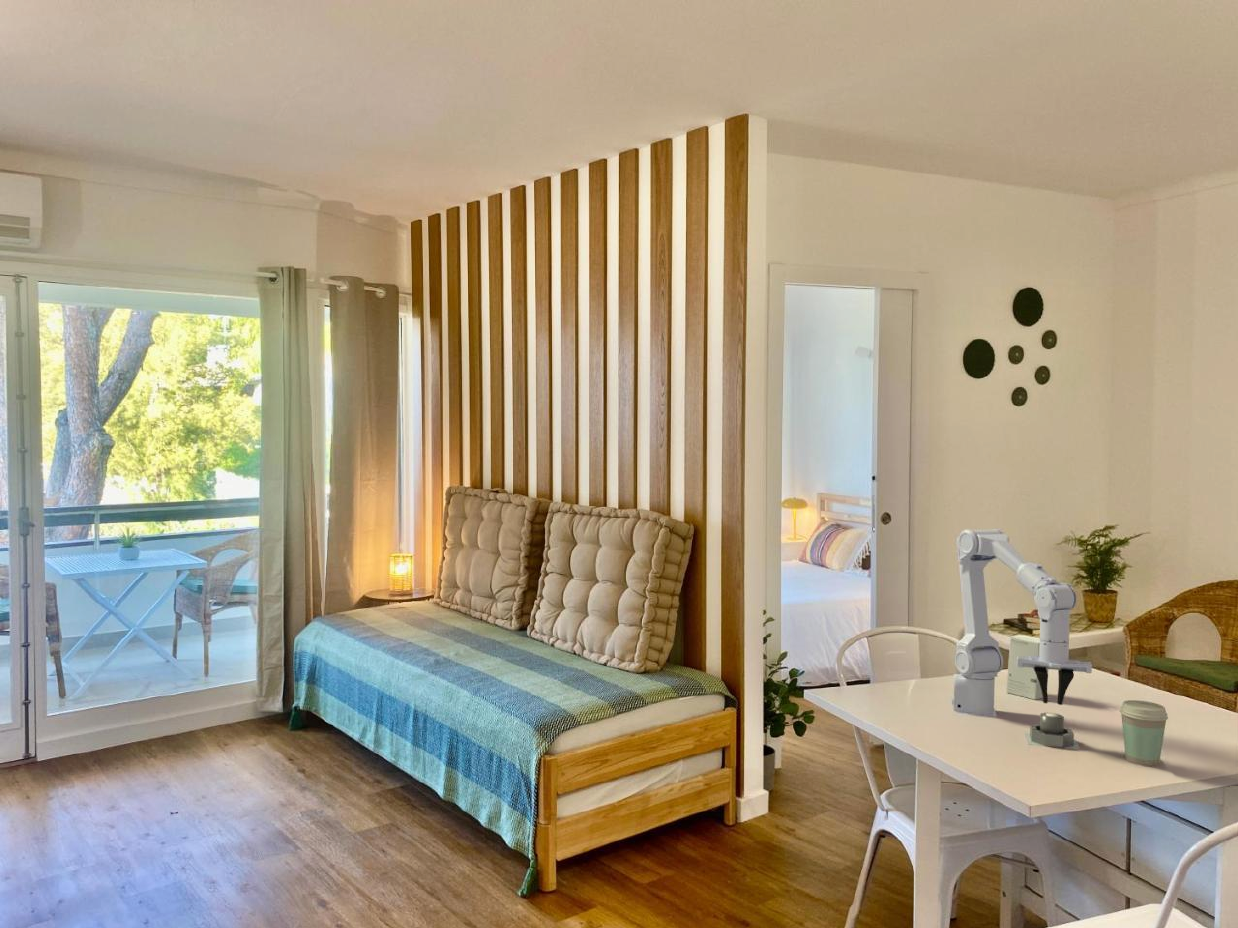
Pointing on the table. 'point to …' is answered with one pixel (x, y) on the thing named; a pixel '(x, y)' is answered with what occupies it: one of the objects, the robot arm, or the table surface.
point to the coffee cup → (1143, 731)
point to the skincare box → (1023, 668)
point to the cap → (1051, 723)
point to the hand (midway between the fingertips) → (1052, 702)
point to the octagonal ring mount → (1052, 737)
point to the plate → (1048, 746)
